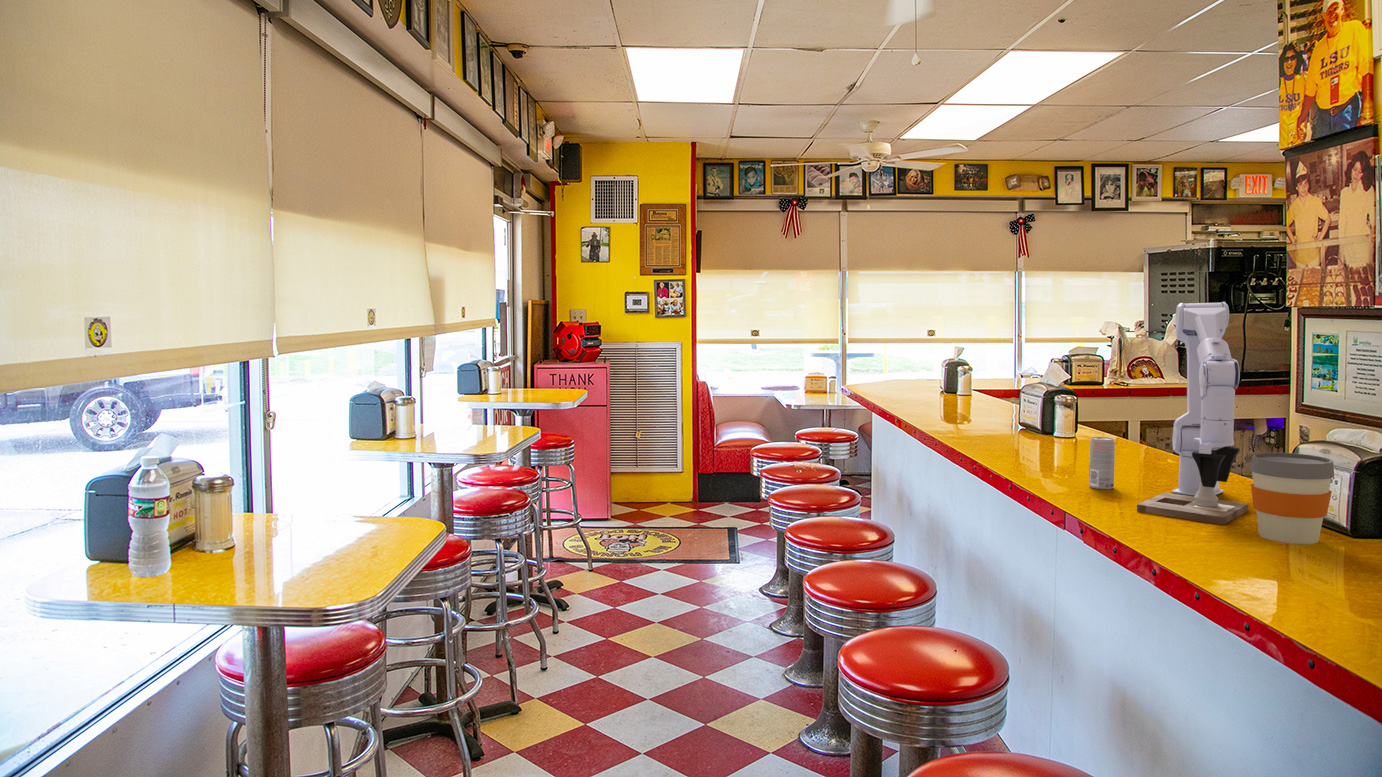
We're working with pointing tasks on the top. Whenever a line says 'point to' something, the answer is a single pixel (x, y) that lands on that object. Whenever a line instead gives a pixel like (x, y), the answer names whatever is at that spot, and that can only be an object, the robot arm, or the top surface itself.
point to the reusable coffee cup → (1291, 495)
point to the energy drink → (1101, 463)
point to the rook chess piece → (1205, 496)
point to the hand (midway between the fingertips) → (1214, 484)
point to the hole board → (1192, 508)
